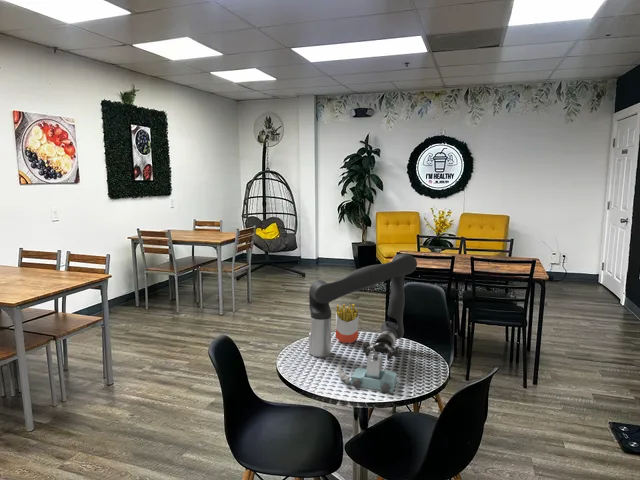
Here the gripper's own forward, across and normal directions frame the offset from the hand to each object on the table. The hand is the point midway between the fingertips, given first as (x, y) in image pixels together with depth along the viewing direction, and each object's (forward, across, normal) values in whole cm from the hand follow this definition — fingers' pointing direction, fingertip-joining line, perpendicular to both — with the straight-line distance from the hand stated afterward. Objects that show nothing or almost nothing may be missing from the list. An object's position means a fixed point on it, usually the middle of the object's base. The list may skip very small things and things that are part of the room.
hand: (377, 356), depth 172 cm
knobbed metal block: (+6, 0, +8) cm, 9 cm away
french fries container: (-33, -22, +9) cm, 41 cm away
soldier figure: (+7, -12, +9) cm, 16 cm away
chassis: (+6, 0, +9) cm, 10 cm away
